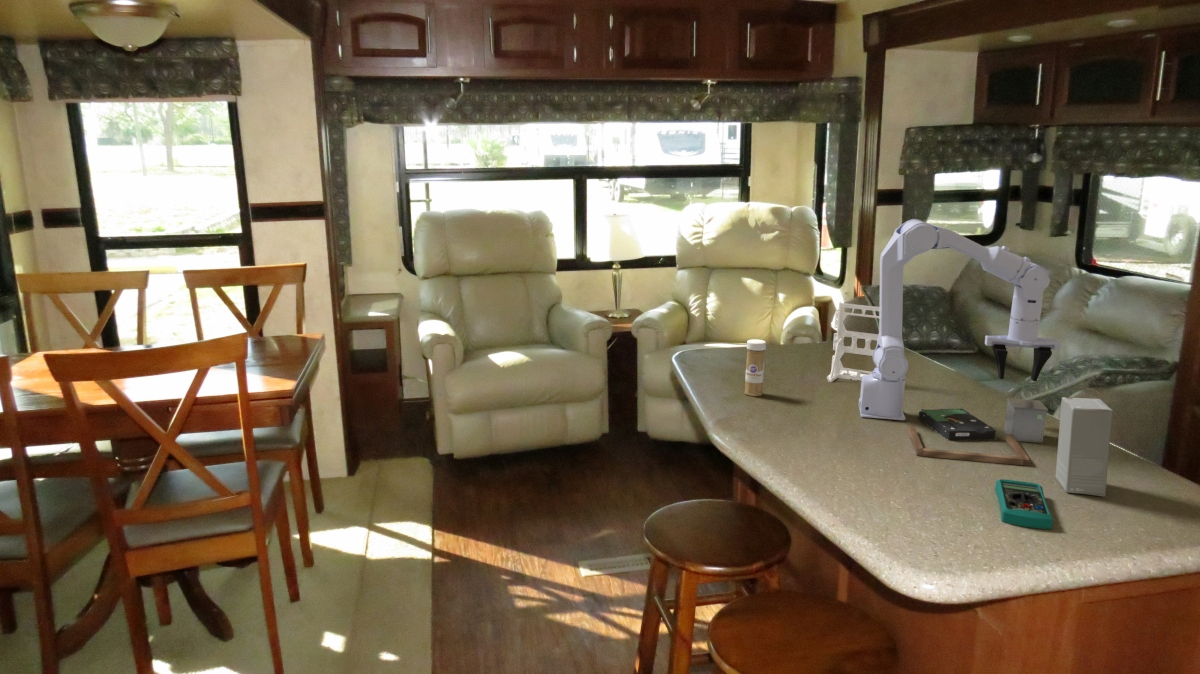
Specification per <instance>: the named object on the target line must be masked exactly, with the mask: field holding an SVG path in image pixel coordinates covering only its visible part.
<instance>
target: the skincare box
mask: <svg viewBox="0 0 1200 674" xmlns="http://www.w3.org/2000/svg"><path fill="white" fill-rule="evenodd" d="M1060 403H1061V404H1060V405H1061V406H1060V416H1059V430H1058V431H1059V432H1058V442H1057V453H1056V454H1057V455H1056V465H1055V467H1056V468H1055V475H1054V476H1055V479H1056V480H1057V481H1058V482H1059V484H1060V486H1061V487H1062V488H1063V490H1064V491H1065V492H1066V493H1069V494H1070V493H1071V494H1082V495H1089V496H1097V497H1105V496H1106V494H1107V493H1106V491H1107V479H1108V468H1109V467H1108V465H1109V455H1110V445H1111V442H1110V441H1111V431H1112V423H1113V422H1112V421H1113V420H1112V419H1113V412H1114V410H1113V409H1112V408H1110V407H1109V406H1108V404H1106V403H1105V402H1104V401H1103V400H1102V399H1101V398H1089V397H1087V398H1085V397H1083V398H1081V397H1067V396H1066V397H1065V396H1062V397H1061V402H1060Z"/></svg>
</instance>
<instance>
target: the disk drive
mask: <svg viewBox="0 0 1200 674" xmlns="http://www.w3.org/2000/svg"><path fill="white" fill-rule="evenodd" d="M919 418H920V419H921V420H920V419H919ZM918 419H919V420H920V421H921V422H922V423H924V422H925V424H926V425H927V424H928V425H929V426H928V425H927V426H928V427H930V428H931V427H932V428H933V429H932V428H931V429H932V430H933V431H935V430H936V431H937V432H936V431H935V432H936V433H938V434H939V433H940V434H941V435H940V434H939V435H940V436H941V437H943V438H944V437H945V438H944V439H946V440H947V439H948V440H947V441H995V440H996V437H997V430H996V429H995V428H993V426H990V425H989V424H988V423H986V422H984V421H982V420H981V419H979V418H978V417H976V416H975V415H973V414H972V413H970V412H968V411H967V410H965V409H963V408H937V409H935V408H934V409H924V408H921V411H919V412H918Z"/></svg>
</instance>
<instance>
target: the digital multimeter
mask: <svg viewBox="0 0 1200 674" xmlns="http://www.w3.org/2000/svg"><path fill="white" fill-rule="evenodd" d="M994 491H995V494H996V496H997V500H998V505H999V510H1000V521H1001V522H1002V523H1004V524H1009V525H1013V526H1019V527H1025V528H1031V529H1039V530H1052V529H1053V522H1054V517H1053V515H1052V514H1051V511H1050V508H1049V506H1048V504H1047V501H1046V498H1045V493H1044V489H1043V487H1042V486H1041V485H1040V484H1039V483H1035V482H1034V483H1033V482H1028V481H1023V480H1021V481H1020V480H1013V479H1002V478H1001V479H997V480H996V481H995V487H994Z"/></svg>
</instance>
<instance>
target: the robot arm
mask: <svg viewBox="0 0 1200 674" xmlns="http://www.w3.org/2000/svg"><path fill="white" fill-rule="evenodd" d="M933 248H935V249H937V250H940V249H945V248H949V249H951V250H954V251H956V252H959V253H960V254H962V255H965V256H967V257H970V258H972V259H974V260H976V261H979V262H980V265H981V268H982V270H983V271H985V272H987V273H989V274H990V275H993V276H995V277H998V278H1000V279H1001V280H1004V281H1006V282H1008V283H1012V284H1013V285H1014V289H1013V296H1012V300H1011V301H1012V302H1011V303H1012V304H1011V309H1010V318H1009V324H1008V325H1009V327H1008V333H1007V335H985V336H984V338H985V339H984V345H985V346H986V347H991V350H992V353H993V355H994V359H995V363H996V368H997V378H998V379H1000V380H1004V378H1005V371H1006V370H1005V369H1006V368H1005V367H1006V361H1007V357H1008V353H1009V352H1008V350H1007V347H1011V348H1012V347H1013V348H1027V349H1028V348H1030V349H1033V363H1032V369H1031V373H1030V380H1031V381H1032V382H1038V379H1039V377H1040V374H1041V371H1042V369H1044V366H1045V364H1046V363H1047V362H1048V360H1049V359H1050V358H1051V357H1052V355H1053V351H1052V350H1054V351H1060V347H1061V341H1060V340H1059V339H1054V338H1053V339H1052V338H1045V337H1044V338H1043V337H1039V330H1040V323H1041V322H1040V321H1041V315H1042V314H1041V313H1042V306H1043V298H1044V291H1045V290H1046V289H1047V288H1048V287H1049V284H1050V282H1051V279H1050V277H1049V272H1048V271H1047V269H1046V268H1045V267H1044V266H1043V265H1042V266H1041V265H1039V264H1038V263H1034V262H1033V261H1032V260H1031V258H1029V257H1028V256H1024V257H1022V256H1020V255H1017V254H1015V253H1014V252H1011V251H1010V250H1011V249H1010V248H1009V247H1007V246H1005V245H1002V246H998V245H996V246H992V247H989V248H987V247H985V246H984V245H981V244H980V243H978V242H975V241H974V240H971V239H969V238H967V237H966V236H963V235H961V234H959V233H958V232H956V231H953V230H951V229H949V228H947V227H946V228H945V227H943V226H939V225H936V224H932V223H930V222H929V223H928V222H925V221H923V220H921V219H917V218H912V219H909V220H907V221H905V222H904V223H902V224H901V225H899V226H898V227H897V228H895V230H894V232H893V235H892V236H891V238H890V240H889V241H888V243H887V244H886V246H885V247H884V249H883V250H882V251H881V253H880V256H879V306H878V307H879V311H878V312H879V313H878V314H879V315H878V316H879V318H878V321H879V322H878V323H879V325H878V327H879V328H878V329H879V330H878V334H879V336H878V338H877V341H876V347H875V348H874V349H873V350H874V352H873V356H872V362H873V364H874V366H876V367H874V369H873V370H872V371H871V372H872V375H869V374H866V375H863V376H862V381H860V393H859V395H860V396H859V399H858V409H859V414H860V417H862V418H871V419H872V418H873V419H884V420H885V419H886V420H896V421H906V416H905V413H904V410H903V406H904V405H903V404H904V395H905V386H906V374H907V373H908V371H909V370H908V369H909V362H908V359H907V358H906V355H905V345H904V340H903V313H904V310H903V309H904V307H903V303H904V302H903V301H904V267H905V265H906V264H908V263H909V262H910V261H911V260H912V259H914V258H915V257H916V256H919V255H921V254H924V253H926V252H929V251H930V250H931V249H933Z"/></svg>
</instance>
